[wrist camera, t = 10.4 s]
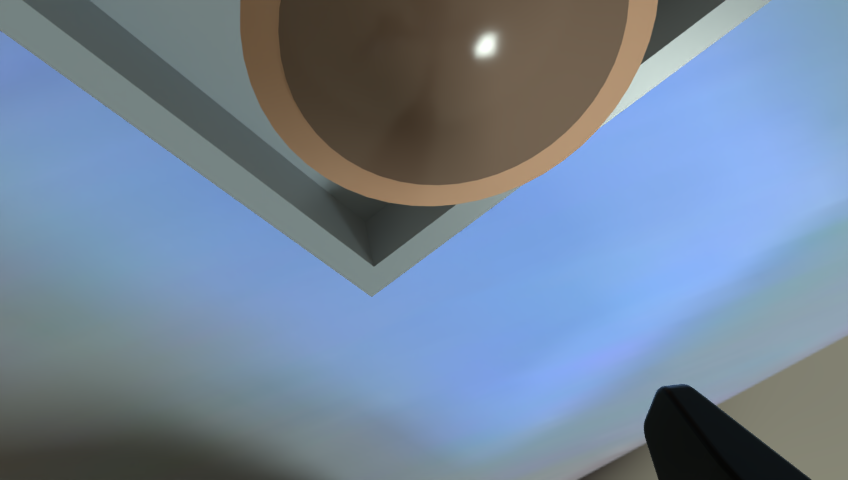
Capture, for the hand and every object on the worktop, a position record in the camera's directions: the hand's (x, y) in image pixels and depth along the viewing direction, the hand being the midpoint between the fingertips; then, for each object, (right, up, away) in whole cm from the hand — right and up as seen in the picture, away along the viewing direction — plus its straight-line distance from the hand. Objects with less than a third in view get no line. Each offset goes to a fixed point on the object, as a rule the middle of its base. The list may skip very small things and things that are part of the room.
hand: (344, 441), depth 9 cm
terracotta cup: (0, +10, +6) cm, 12 cm away
